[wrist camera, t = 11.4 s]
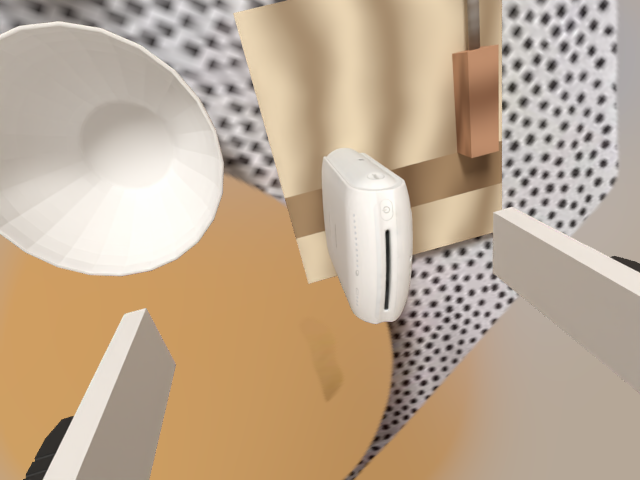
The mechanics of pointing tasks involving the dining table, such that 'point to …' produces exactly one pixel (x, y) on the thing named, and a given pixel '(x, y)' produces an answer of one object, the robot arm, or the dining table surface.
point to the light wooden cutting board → (372, 108)
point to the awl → (476, 92)
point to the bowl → (101, 152)
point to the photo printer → (368, 233)
